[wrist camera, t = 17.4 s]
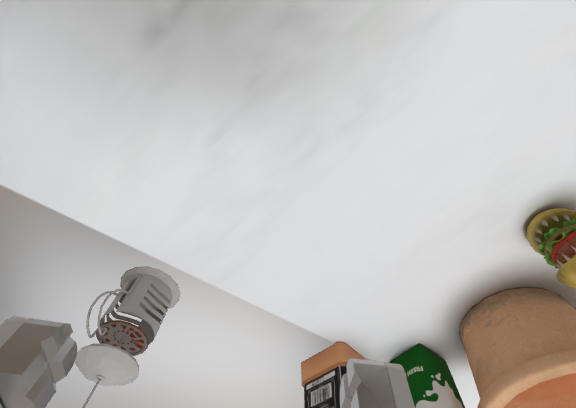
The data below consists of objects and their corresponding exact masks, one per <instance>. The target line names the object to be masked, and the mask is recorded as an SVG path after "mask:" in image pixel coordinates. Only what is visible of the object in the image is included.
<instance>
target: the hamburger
mask: <svg viewBox="0 0 576 408" xmlns="http://www.w3.org/2000/svg"><path fill="white" fill-rule="evenodd" d="M527 239H528V241H529V243H530V245H531V246H532V247H533V249H534V250H535V251H536V252H538V253H540V254H541V255H544V256H545V257H544V259H545V260H546V261H547V263H548V264H550V265H552V266H555V268H558V269H559V271H558V273H557V275H556V276H557V278H558V280H559V281H560V282H562V283H564V284H565V285H567V286H569V287H572V288H576V211H572V210H569V209H563V208H555V209H549V210H546V211H543V212H541V213H539V214H538V215H536V216H535V217H534V218H533V219H532V220H531V221H530V223H529V225H528V228H527Z"/></svg>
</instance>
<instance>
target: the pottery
mask: <svg viewBox="0 0 576 408" xmlns="http://www.w3.org/2000/svg"><path fill="white" fill-rule="evenodd" d="M459 334H460V337H461V340H462V343H463V345H464V348H465V351H466V354H467V358H468V361H469V364H470V367H471V370H472V374H473V377H474V380H475V383H476V386H477V389H478V393H479V396H480V402H479V405H478V408H576V309H575V308H573V307H572V306H571V305H570V304H569V303H567V302H566V301H565V300H564V299H563V298H562V297H561V296H560V295H557V294H555V293H553V292H551V291H548V290H546V289H538V288H527V287H524V288H518V289H511V290H505V291H502V292H500V293H497V294H495V295H492V296H490V297H487V298H485V299H484V300H483V301H481V302H480V303H478V304H477V305H476V306H474V307H473V308H472V309H471V310H470V311H469V312H468V314H467V315H466V316H465V318H464V319H463V320H462V323H461V328H460V332H459Z"/></svg>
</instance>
